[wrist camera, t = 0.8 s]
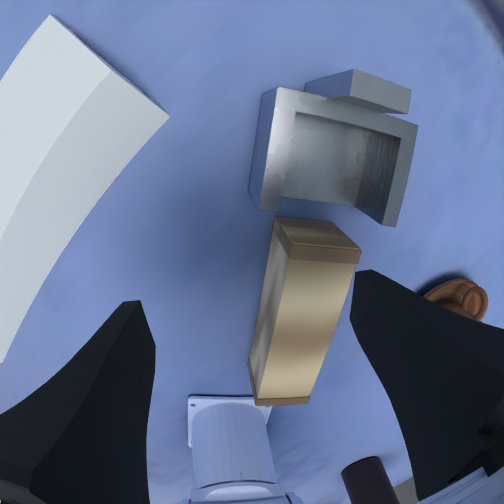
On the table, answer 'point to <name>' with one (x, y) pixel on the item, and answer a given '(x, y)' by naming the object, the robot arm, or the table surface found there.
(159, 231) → the table surface
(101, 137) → the crown molding
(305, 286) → the tan rectangular block
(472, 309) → the cup and saucer
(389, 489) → the bottle
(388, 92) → the bracket
